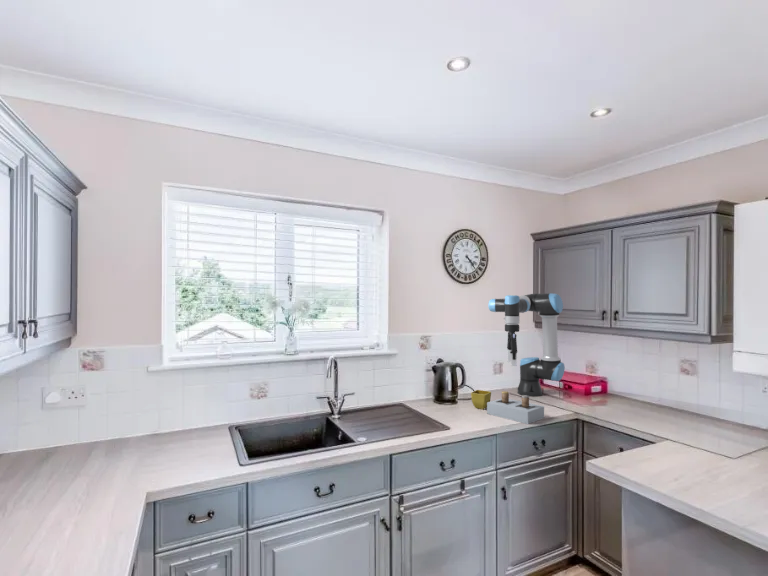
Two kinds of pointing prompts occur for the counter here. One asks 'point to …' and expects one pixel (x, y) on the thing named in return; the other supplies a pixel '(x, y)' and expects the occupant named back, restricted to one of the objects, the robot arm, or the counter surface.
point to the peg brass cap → (505, 397)
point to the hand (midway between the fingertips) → (511, 363)
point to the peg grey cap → (525, 401)
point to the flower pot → (480, 398)
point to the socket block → (515, 411)
